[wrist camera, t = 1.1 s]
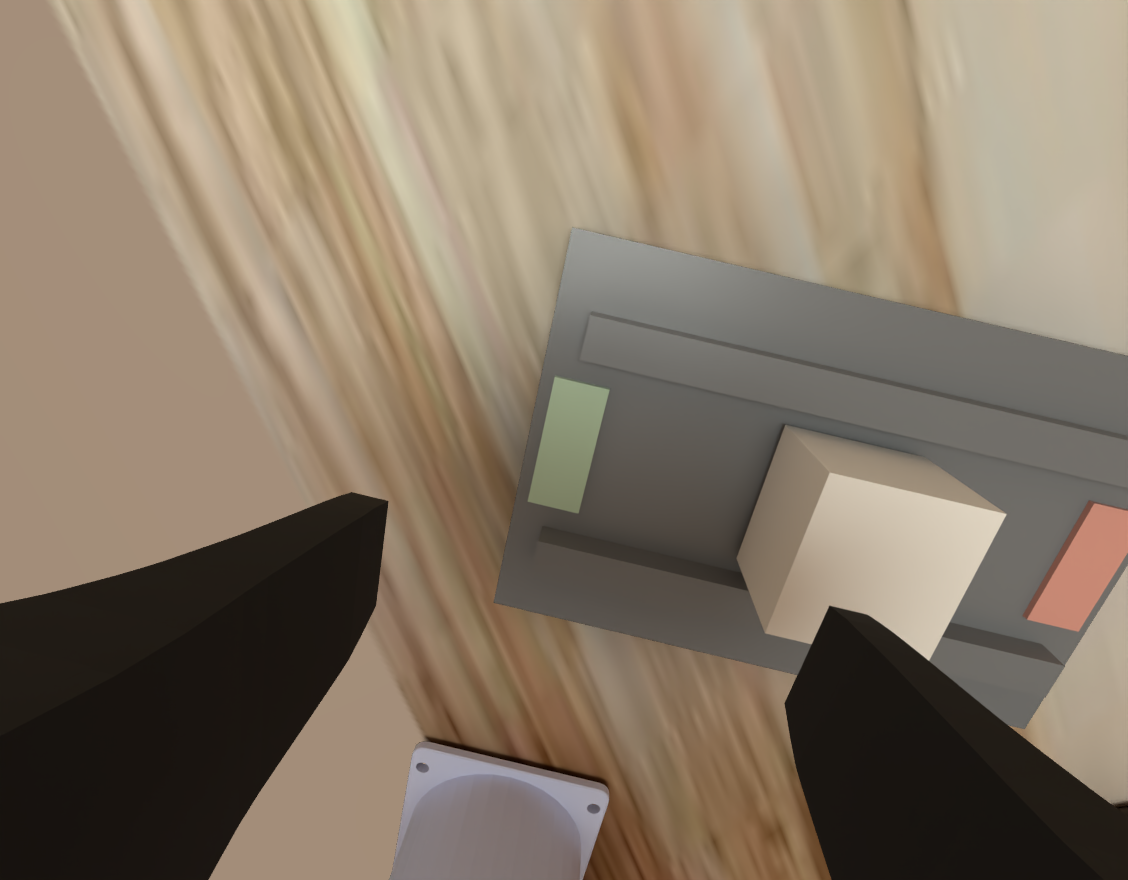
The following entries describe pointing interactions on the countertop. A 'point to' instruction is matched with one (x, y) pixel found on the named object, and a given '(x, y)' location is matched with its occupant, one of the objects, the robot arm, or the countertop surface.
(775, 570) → the slider knob
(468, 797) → the robot arm
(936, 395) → the switch track
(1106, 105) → the countertop surface
